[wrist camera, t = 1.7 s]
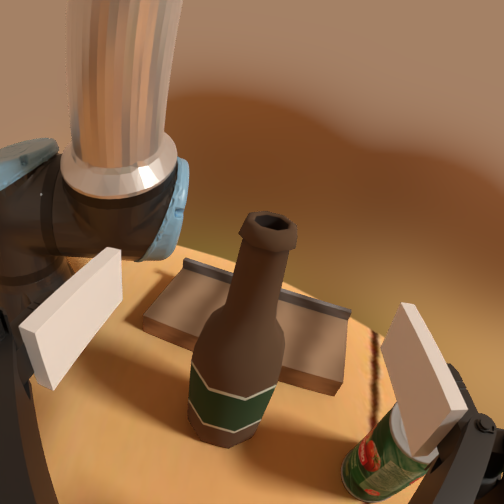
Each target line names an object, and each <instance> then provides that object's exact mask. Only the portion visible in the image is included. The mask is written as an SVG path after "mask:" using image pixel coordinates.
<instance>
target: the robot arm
mask: <svg viewBox="0 0 504 504" xmlns="http://www.w3.org/2000/svg"><path fill="white" fill-rule="evenodd" d="M182 2H183V0H67V4H66V78H67V95H68V108H69V117H70V128H71V136H72V141H71V142H70V143H69V144H68V145H67V147H66V148H65V150H64V151H63V153H62V154H59V153H58V150H59V147H58V145H57V142H56V141H55V140H54V139H49V138H39V139H33V140H28V141H24V142H20V143H16V144H13V145H10V146H7V147H4V148H2V149H0V504H59V503H58V500H57V497H56V494H55V491H54V488H53V484H52V481H51V478H50V474H49V471H48V467H47V463H46V459H45V456H44V451H43V447H42V443H41V438H40V434H39V429H38V424H37V419H36V413H35V407H34V401H33V394H32V387H31V383H30V380H29V378H30V377H31V376H32V375H33V373H34V374H35V377H36V380H37V382H38V384H40V385H42V386H44V387H46V388H48V389H51V390H53V391H54V390H55V388H56V387H57V385H58V384H59V383H60V381H61V380H62V378H63V377H64V376H65V374H66V373H67V371H68V370H69V369H70V367H71V366H72V365H73V363H74V362H75V361H76V359H77V358H78V357H79V355H80V354H81V353H82V351H83V350H84V349H85V347H86V346H87V345H88V343H89V342H90V341H91V339H92V338H93V337H94V335H95V334H96V333H97V332H98V330H99V329H100V328H101V326H102V325H103V324H104V323H105V321H106V320H107V319H108V317H109V316H110V315H111V314H112V312H113V311H114V310H115V309H116V307H117V306H118V305H119V304H120V302H121V301H122V300H123V296H122V272H121V260H126V261H134V262H142V261H160V260H164V259H166V258H168V257H169V256H170V255H171V254H172V253H173V251H174V249H175V247H176V244H177V241H178V238H179V234H180V231H181V226H182V221H183V212H184V208H185V204H186V200H187V193H188V184H189V165H188V163H187V161H186V160H184V159H181V158H179V157H178V156H177V150H176V146H175V144H174V142H173V140H172V139H171V138H170V137H169V136H168V135H167V134H166V133H165V132H164V122H165V113H166V105H167V96H168V88H169V81H170V73H171V66H172V59H173V53H174V47H175V41H176V35H177V29H178V24H179V18H180V13H181V8H182ZM66 256H68V257H85V258H93V259H92V260H91V261H89V262H88V263H87V264H86V265H85V266H84V267H82V268H81V269H80V270H79V271H78V272H77V273H74V271H73V269H72V267H71V265H70V264H69V262H68V260H67V258H66ZM381 351H382V354H383V358H384V361H385V364H386V367H387V370H388V373H389V377H390V380H391V383H392V386H393V390H394V393H395V396H396V400H397V403H398V407H399V410H400V414H401V418H402V421H403V425H404V429H405V433H406V436H407V440H408V444H409V448H410V452H411V456H412V457H420V456H428V455H429V454H430V453H431V452H432V451H433V450H434V449H435V448H436V447H437V449H438V453H439V454H438V455H437V456H436V457H435V458H434V459H433V460H432V461H431V462H430V463H429V464H428V465H427V466H426V467H425V469H424V470H425V471H426V470H427V469H428V468H429V467H430V468H429V469H428V471H427V473H426V475H425V476H424V478H423V480H422V482H421V483H420V485H419V487H418V488H417V490H416V492H415V493H414V495H413V497H412V498H411V500H410V501H409V503H408V504H504V429H499V428H496V425H495V423H494V422H493V420H492V419H491V418H490V417H488V416H487V415H485V414H482V413H478V411H477V409H476V407H475V405H474V403H473V401H472V399H471V396H470V394H469V392H468V390H466V386H465V384H464V383H463V382H462V381H463V380H462V378H461V376H460V374H459V372H458V371H457V370H456V369H455V368H454V367H453V366H452V365H451V364H447V363H446V362H445V360H444V358H443V356H442V354H441V352H440V350H439V348H438V346H437V345H436V343H435V341H434V339H433V337H432V335H431V333H430V331H429V330H428V328H427V326H426V324H425V322H424V321H423V319H422V317H421V316H420V314H419V312H418V310H417V308H416V307H415V305H414V304H408V303H402V302H401V303H400V305H399V308H398V310H397V312H396V315H395V317H394V319H393V321H392V324H391V326H390V328H389V330H388V333H387V335H386V337H385V339H384V341H383V343H382V345H381ZM502 472H503V477H502V479H501V473H502Z"/></svg>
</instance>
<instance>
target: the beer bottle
mask: <svg viewBox="0 0 504 504" xmlns="http://www.w3.org/2000/svg"><path fill="white" fill-rule="evenodd" d="M239 235H240V236H241V237H242V238H243V240H242V243H241V247H240V250H239V254H238V258H237V262H236V265H235V269H234V273H233V277H232V280H231V284H230V288H229V292H228V296H227V299H226V303H225V305H223V306H222V307H220V308H219V309H217V310H215V311H214V312H212V314H211V315H210V317H209V318H208V320H207V321H206V322H205V325H204V327H203V329H202V331H201V333H200V335H199V337H198V340H197V342H196V344H195V346H194V351H193V355H192V360H191V371H190V384H189V397H188V411H187V412H188V420H189V422H190V424H191V425H192V427H193V429H194V430H195V432H196V433H197V435H198V437H199V438H200V440H201V441H204V442H207V443H211V444H214V445H218V446H221V447H225V448H230V447H233V446H235V445H237V444H239V443H241V442H243V441H245V440H248V439H250V438H252V436H253V435H254V433H255V431H256V429H257V427H258V425H259V423H260V421H261V419H262V416H263V414H264V412H265V410H266V408H267V405H268V403H269V401H270V399H271V396H272V394H273V392H274V389H275V387H276V385H277V382H278V378H279V375H280V372H281V367H282V361H283V355H284V350H285V338H284V332H283V330H282V328H281V326H280V324H279V322H278V321H277V319H276V315H277V304H278V299H279V295H280V291H281V286H282V282H283V277H284V272H285V268H286V264H287V259H288V254H289V250H292V249H295V248H296V242H297V225H296V224H295V223H293V222H292V221H291V220H289V219H288V218H287V217H285V216H283V215H280V214H276V213H272V212H268V211H261V212H252V213H249V214H248V216H247V218H246V219H245V221H244V223H243V225H242V227H241V229H240V231H239Z"/></svg>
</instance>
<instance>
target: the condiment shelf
mask: <svg viewBox="0 0 504 504" xmlns="http://www.w3.org/2000/svg"><path fill="white" fill-rule="evenodd" d="M232 277H233V273H231V272H228V271H225V270H222V269H219V268H216V267H213V266H210V265H207V264H204V263H201V262H198V261H195V260H192V259H189V258H185V259H184V260H183V268H182V270H181V271H180V272H179V273H178V274H177V275H176V277H175V278H174V279H173V280H172V281H171V282H170V284H169V285H168V286H167V287H166V288H165V289H164V291H163V292H162V293H161V294H160V295H159V296H158V298H157V299H156V300H155V301H154V302H153V304H152V305H151V306H150V307H149V308H148V310H147V311H146V312H145V313H144V314H143V327H144V332H147V333H149V334H151V335H154V336H156V337H158V338H161V339H163V340H166V341H168V342H171V343H173V344H176V345H178V346H181V347H183V348H186V349H188V350H191V351H194V346H195V344H196V342H197V340H198V337H199V335H200V333H201V331H202V329H203V327H204V325H205V322H206V321H207V320H208V318H209V317H210V315H211V314H212V312H214V311H215V310H217V309H219V308H220V307H222V306H223V305H225V303H226V299H227V296H228V292H229V288H230V284H231V280H232ZM350 315H351V309H347V308H344V307H341V306H337V305H334V304H331V303H327V302H324V301H321V300H317V299H314V298H311V297H308V296H304V295H301V294H298V293H295V292H291V291H288V290H285V289H282V288H281V291H280V295H279V299H278V304H277V315H276V319H277V321H278V322H279V324H280V326H281V328H282V330H283V332H284V338H285V350H284V355H283V361H282V367H281V372H280V375H279V378H278V381H281V382H284V383H288V384H291V385H295V386H298V387H302V388H305V389H309V390H312V391H316V392H320V393H324V394H327V395H331V396H335V394H336V393H337V391H338V390H339V388H340V387H341V385H342V383H343V378H344V367H345V354H346V340H347V324H348V319H349V317H350Z"/></svg>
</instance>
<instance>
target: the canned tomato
mask: <svg viewBox="0 0 504 504" xmlns="http://www.w3.org/2000/svg"><path fill="white" fill-rule="evenodd" d="M438 454H439V453H438V449H437V447H436V448H435V449H434V450H433V451H432V452H431V453H430V454H429V455H428V456H420V457H412V456H411V452H410V448H409V444H408V440H407V436H406V433H405V429H404V425H403V421H402V418H401V414H400V410H399V407H398V403H397V402H396V403H395V404H394V406H393V408H392V409H391V410H390V411H389V412H388V413H387V414H386V415H385V416H384V417H383V418H382V419H381V421H380V422H379V423H378V424H377V425H376V426H375V427H374V428H373V429H372V430H371V431H370V432H369V433H368V434H367V435H366V436H365V437H364V438H363V439H362V440H361V441H360V442H359V443H358V444H357V445H356V446H355V447H354V449H352V450H351V451H350V452H349V453H348V454H347V455H346V457H345V458H344V460H343V463H342V467H341V478H342V482H343V484H344V486H345V488H346V489H347V490H348V492H349V493H350V494H351V495H352V496H354V497H355V498H357V499H359V500H361V501H364V502H369V503H376V502H381V501H384V500H386V499H388V498H390V497H391V496H392V495H394V494H396V493H398V492H399V491H401V490H403V489H404V488H406V487H407V486H409V485H411V484H412V483H414V482H415V481H417V480H418V479H420V478H421V477H423V476H424V475H426V473H427V471H428V469H429V468H430V467H429V468H428V469H427V470H426V471H425V470H424V469H425V467H426V466H427V465H428V464H429V463H430V462H431V461H432V460H433V459H434V458H435V457H436V456H437V455H438Z"/></svg>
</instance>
